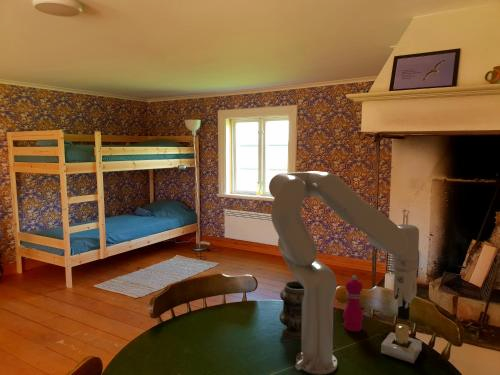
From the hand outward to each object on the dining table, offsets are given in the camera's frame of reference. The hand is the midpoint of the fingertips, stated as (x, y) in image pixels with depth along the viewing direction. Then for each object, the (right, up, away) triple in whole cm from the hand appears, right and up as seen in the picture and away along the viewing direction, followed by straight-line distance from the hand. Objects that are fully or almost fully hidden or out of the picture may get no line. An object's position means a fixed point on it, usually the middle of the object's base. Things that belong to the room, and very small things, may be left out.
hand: (403, 318), depth 121 cm
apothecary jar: (-33, -10, +14) cm, 38 cm away
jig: (0, -11, +1) cm, 11 cm away
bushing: (0, -11, +1) cm, 11 cm away
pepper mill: (-12, -10, +17) cm, 23 cm away
